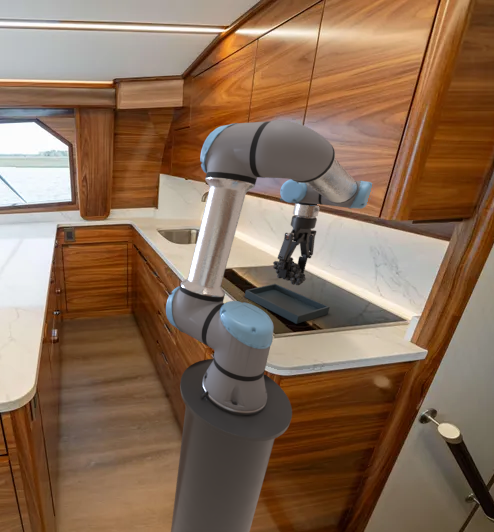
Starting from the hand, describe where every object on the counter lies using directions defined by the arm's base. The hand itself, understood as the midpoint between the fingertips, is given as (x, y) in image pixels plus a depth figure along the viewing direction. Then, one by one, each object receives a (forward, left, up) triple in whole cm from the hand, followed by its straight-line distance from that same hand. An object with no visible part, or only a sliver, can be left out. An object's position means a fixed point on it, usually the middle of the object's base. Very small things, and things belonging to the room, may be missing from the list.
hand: (291, 275), depth 113 cm
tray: (0, 0, -13) cm, 13 cm away
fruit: (-1, 0, -2) cm, 3 cm away
